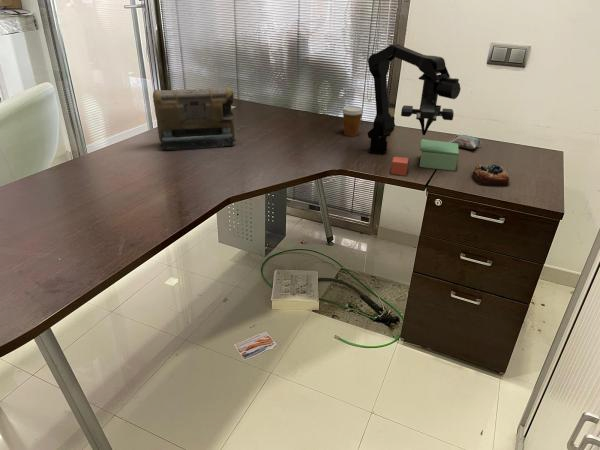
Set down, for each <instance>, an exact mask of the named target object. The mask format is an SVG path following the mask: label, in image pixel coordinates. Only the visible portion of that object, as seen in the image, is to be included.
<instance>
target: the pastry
mask: <svg viewBox="0 0 600 450" xmlns="http://www.w3.org/2000/svg"><path fill="white" fill-rule="evenodd" d="M472 179H473V181H474V182H475V183H477V184H478V185H481V186H490V187H491V186H492V187H506V186H508V184H509V181H510V176H509V174H508V171H507V170H505V169H504V167H502V166H501V165H499V164H492V165H484V164H478V165H475V166H474V169H473V171H472Z"/></svg>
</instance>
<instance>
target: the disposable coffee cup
mask: <svg viewBox="0 0 600 450" xmlns="http://www.w3.org/2000/svg"><path fill="white" fill-rule="evenodd" d="M341 112H342V115H343V116H342V118H343V132H344V135H345V136H348V137H356V136H358V135H359V130H360V125H361V121H362V116H363V113H364V110H363V108H362V107H360V106H355V105H349V106H344V107H343V108H342V110H341Z"/></svg>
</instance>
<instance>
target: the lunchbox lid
mask: <svg viewBox="0 0 600 450" xmlns="http://www.w3.org/2000/svg"><path fill="white" fill-rule="evenodd" d="M449 142H450V141H441V140H432V139H425V138H424V139H423V138H422V139H421V141H420V146H419V151H421V152H422V151H429V152H436V153H444V154H452V155H458V156H459V153H460V152H459V147H458V144H457V143H449Z"/></svg>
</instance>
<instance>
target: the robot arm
mask: <svg viewBox="0 0 600 450" xmlns="http://www.w3.org/2000/svg"><path fill="white" fill-rule="evenodd" d="M395 59H397V60H401V61H402V62H403V61H404V62H406V63H407V64H411V65H413V66H415V67H417V68H418V70H419V71H420V72H421V73H422V74H421V76H419V77H418V80H420V81H423V84H422V90H421V97H420V105H419V108H414V106H413V105H407V104H406V105H403V106H402V107H401V113H400V116H401V117H406V118H407V117H408V118H410V117H411V116H412V115H416V117H415V120H418V121H419V125H420V129H421V133H422V136H426V134H427V132H428V129H429V128H430V126H431V124H432V123H433V122H436V121H437V118H438V117H441V118H442V120H443V121H453V119H454V114H455V113H454V110H453V109H452V108H442V105H438V104H437V103H438V97H442V98H446V99H450V100H455V99H457V98H458V97H459V95H460V93H461V84H460V83H459V81H460V79H459V78H456V77H455V78H452V77H451V75H450V73H449V71H448V68H447V65H446V61H445V59H444V57H442V56H437V55H430V54H429V55H428V54H427V55H426V54H422V53H421V52H418V51H415V50H413V49H410V48H408V47H405V46H402V45H401V44H399V43H393V44H389V45H388V46H387V47H385V48H383V49H382V50H379V51H378V52H376V53H372V54H370V55H369V57H368V59H367V65H368V69H369V72H370V74H371V76H372V77H373V87H374V98H375V111H376V112H375V113H376V115H375V117H374V120H373V124H372V125H373V126H372V128H371V129H370V130H369V131H367V138H369V139H370V144H369V145H370V146H369V150H368V153H371V154H380V155H384V154H385V153H386V152H387V149H388V143H389V141H388V139H387V138H389V137H390V136H391V134H392V133H393V132H394V130H395V127H396V124H395V119H396V118H395V116H392V115H391V113H390V110H389V97H388V95H389V94H388V82H387V76H388V73H389V70H390V66H391V65H390V64H391V62H392V61H394V60H395ZM425 120H426V123H425Z"/></svg>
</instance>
